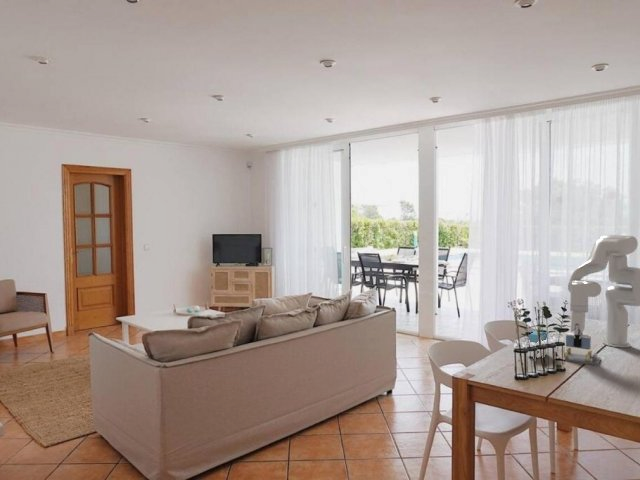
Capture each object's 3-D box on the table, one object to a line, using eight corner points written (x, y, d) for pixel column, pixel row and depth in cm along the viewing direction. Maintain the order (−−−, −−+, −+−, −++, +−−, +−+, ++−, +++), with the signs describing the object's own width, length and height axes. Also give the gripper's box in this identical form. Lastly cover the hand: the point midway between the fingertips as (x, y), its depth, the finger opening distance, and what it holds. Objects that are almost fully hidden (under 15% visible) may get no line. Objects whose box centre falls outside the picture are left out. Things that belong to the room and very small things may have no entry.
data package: (537, 359, 228) (537, 334, 228) (527, 357, 232) (528, 333, 231) (547, 354, 236) (547, 330, 236) (538, 352, 240) (538, 329, 239)
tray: (559, 353, 238) (559, 345, 238) (600, 359, 228) (600, 351, 227) (555, 359, 228) (555, 350, 228) (597, 365, 218) (598, 357, 218)
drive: (567, 344, 232) (567, 332, 232) (590, 347, 226) (590, 335, 226) (565, 346, 229) (566, 334, 229) (589, 349, 223) (589, 337, 223)
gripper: (573, 304, 236) (572, 340, 237) (567, 310, 222) (566, 348, 223) (590, 306, 231) (589, 343, 232) (585, 312, 218) (584, 351, 219)
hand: (578, 345), depth 228 cm, fingers closed on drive, 4 cm apart
